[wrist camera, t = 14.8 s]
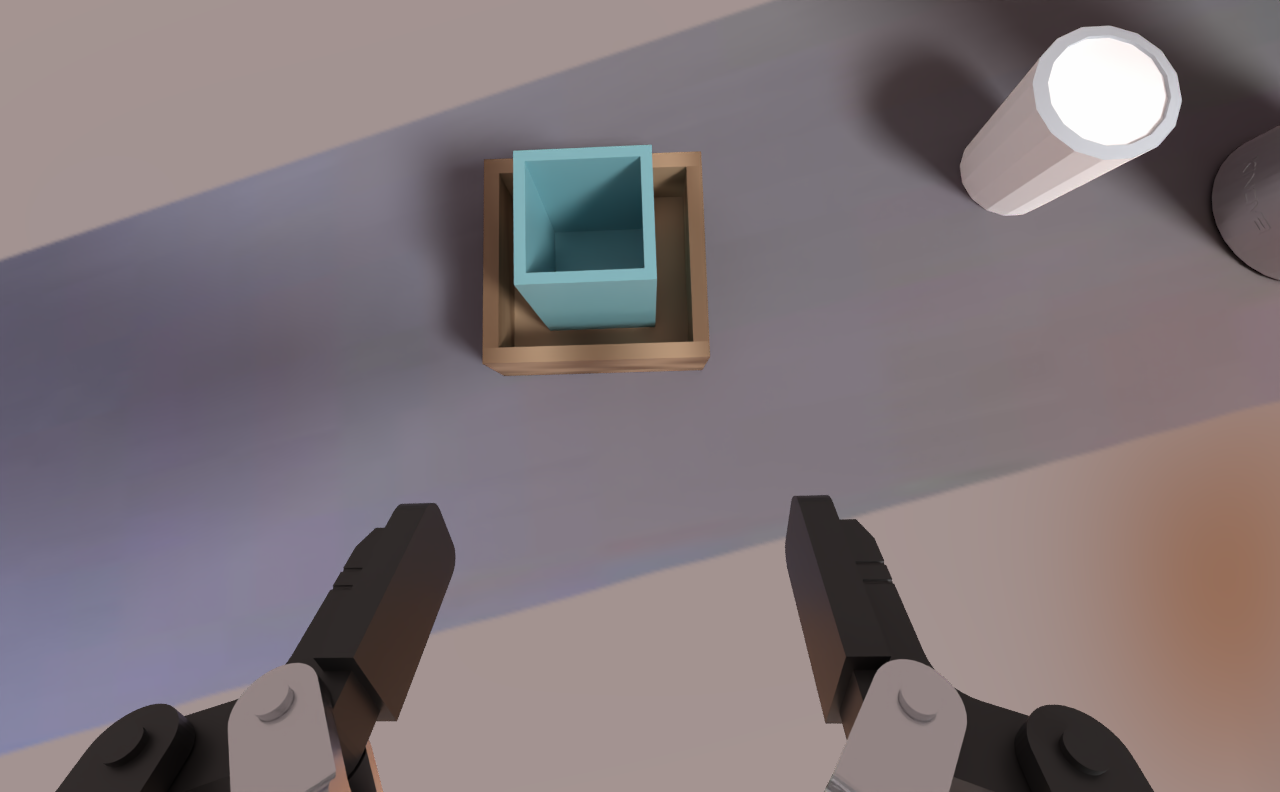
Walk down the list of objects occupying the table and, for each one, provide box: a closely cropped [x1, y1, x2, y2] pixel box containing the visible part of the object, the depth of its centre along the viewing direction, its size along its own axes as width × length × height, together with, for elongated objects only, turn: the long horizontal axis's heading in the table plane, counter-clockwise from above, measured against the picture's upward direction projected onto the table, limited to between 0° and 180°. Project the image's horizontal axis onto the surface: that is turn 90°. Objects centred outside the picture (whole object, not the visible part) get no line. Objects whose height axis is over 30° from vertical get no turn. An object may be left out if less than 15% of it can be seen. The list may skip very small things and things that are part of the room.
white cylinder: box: [960, 26, 1182, 216], centre depth 28 cm, size 7×7×7 cm
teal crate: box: [513, 145, 657, 331], centre depth 26 cm, size 6×6×8 cm
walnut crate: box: [483, 152, 710, 376], centre depth 29 cm, size 12×11×4 cm
